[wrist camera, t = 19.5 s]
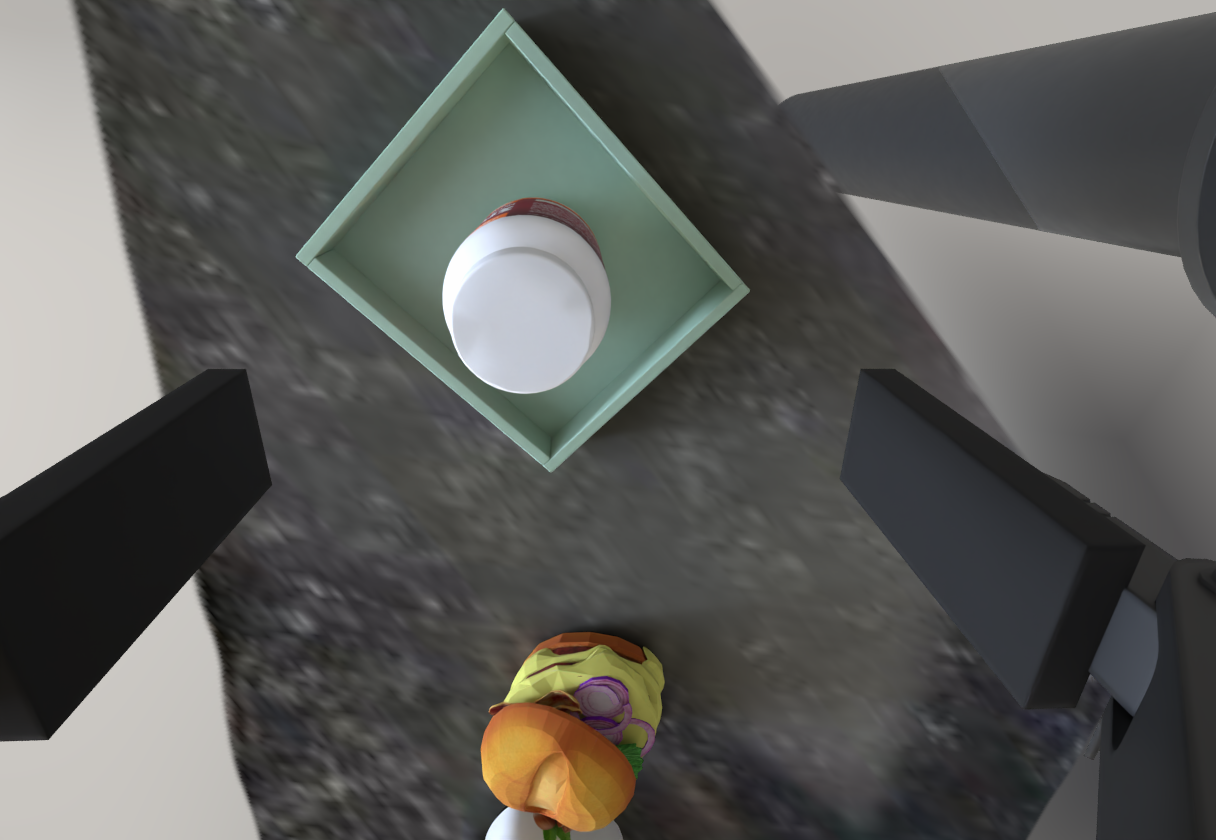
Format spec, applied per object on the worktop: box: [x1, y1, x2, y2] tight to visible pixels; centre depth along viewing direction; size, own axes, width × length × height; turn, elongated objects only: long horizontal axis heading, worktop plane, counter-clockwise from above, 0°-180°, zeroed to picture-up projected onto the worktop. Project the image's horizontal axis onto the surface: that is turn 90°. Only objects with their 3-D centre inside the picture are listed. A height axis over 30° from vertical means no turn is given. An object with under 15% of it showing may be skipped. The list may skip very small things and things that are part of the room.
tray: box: [296, 8, 750, 472], centre depth 29 cm, size 15×13×3 cm
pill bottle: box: [443, 197, 611, 394], centre depth 25 cm, size 6×6×11 cm
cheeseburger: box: [481, 632, 665, 832], centre depth 39 cm, size 10×11×10 cm
